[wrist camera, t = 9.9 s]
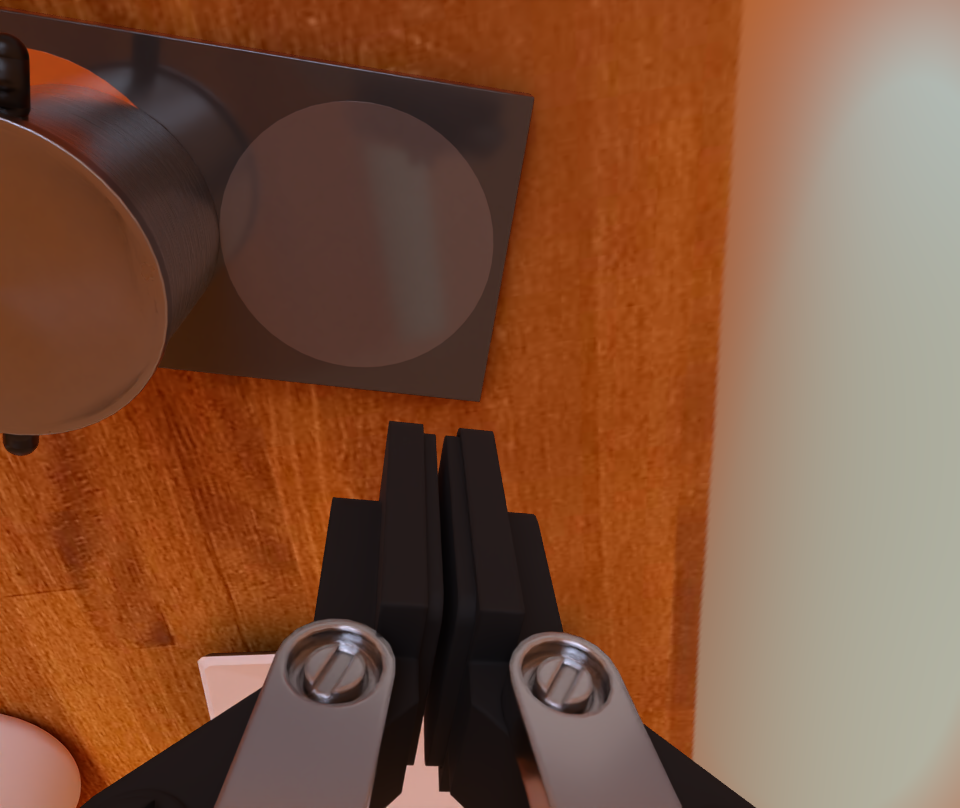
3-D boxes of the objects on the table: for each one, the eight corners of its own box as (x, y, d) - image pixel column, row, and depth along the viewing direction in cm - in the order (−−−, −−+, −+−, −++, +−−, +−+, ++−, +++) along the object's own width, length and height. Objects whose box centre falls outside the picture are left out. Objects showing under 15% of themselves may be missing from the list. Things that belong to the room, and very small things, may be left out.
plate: (252, 848, 46) (245, 882, 45) (206, 628, 37) (195, 661, 36) (549, 832, 48) (554, 865, 46) (573, 616, 39) (580, 647, 37)
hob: (-152, -19, 23) (-175, -20, 23) (531, 93, 26) (534, 97, 26) (-78, 330, 29) (-94, 341, 28) (478, 391, 32) (480, 402, 31)
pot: (-73, -18, 23) (-255, -22, 17) (242, 64, 24) (182, 88, 18) (-43, 354, 29) (-170, 452, 22) (210, 400, 30) (156, 503, 24)
